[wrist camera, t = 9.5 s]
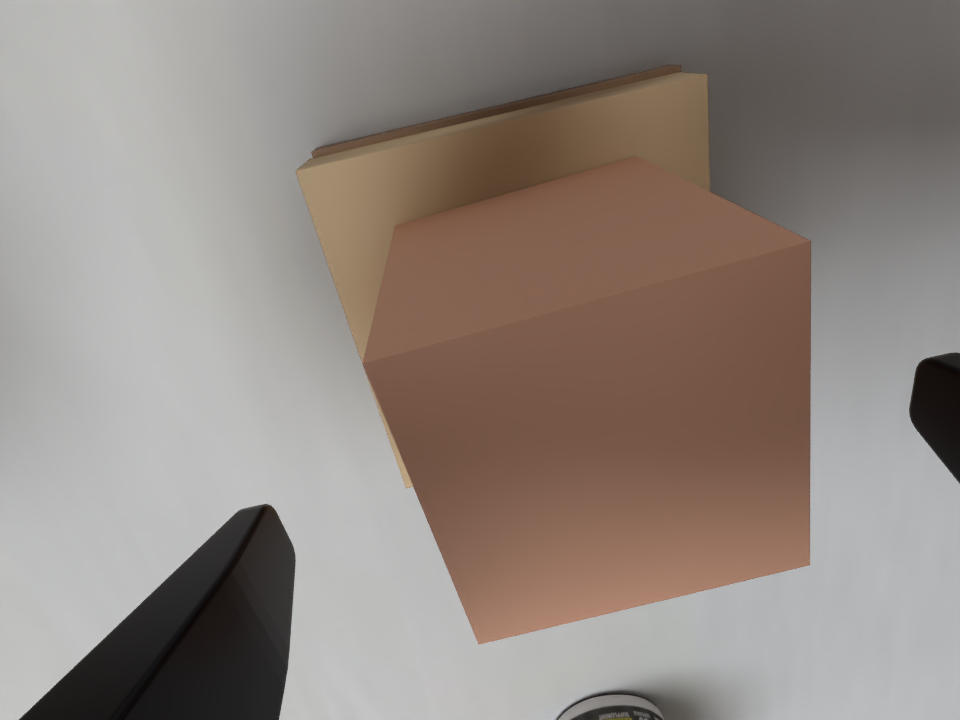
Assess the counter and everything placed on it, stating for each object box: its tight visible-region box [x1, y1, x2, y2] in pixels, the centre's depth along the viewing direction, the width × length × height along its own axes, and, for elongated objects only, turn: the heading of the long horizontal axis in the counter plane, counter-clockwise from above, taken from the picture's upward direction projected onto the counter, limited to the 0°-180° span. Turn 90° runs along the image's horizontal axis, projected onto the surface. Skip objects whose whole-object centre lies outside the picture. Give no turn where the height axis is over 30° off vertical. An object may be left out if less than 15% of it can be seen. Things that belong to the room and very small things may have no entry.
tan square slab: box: [296, 72, 710, 488], centre depth 14 cm, size 8×8×2 cm
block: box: [362, 156, 811, 644], centre depth 10 cm, size 5×5×6 cm
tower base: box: [311, 65, 681, 158], centre depth 15 cm, size 8×8×2 cm
